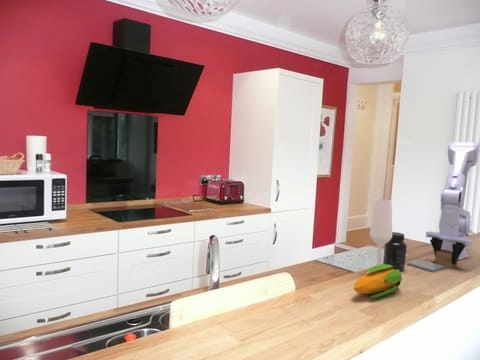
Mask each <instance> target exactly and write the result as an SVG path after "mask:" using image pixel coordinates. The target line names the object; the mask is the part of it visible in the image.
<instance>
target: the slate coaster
mask: <svg viewBox="0 0 480 360" xmlns="http://www.w3.org/2000/svg"><path fill="white" fill-rule="evenodd" d="M406 265H407V266H410V267H413V268H416V269H419V270H424V271H427V272H431V273H436V272H439V271H441V270H444V269H445V268H446V267H445V266H443V265H439V264H435V262H431V261H429V260H428V261H427V260H424V259H419V258H418V259H415V260H411V261H409V262H407V264H406Z"/></svg>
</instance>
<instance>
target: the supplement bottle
mask: <svg viewBox="0 0 480 360" xmlns="http://www.w3.org/2000/svg"><path fill="white" fill-rule="evenodd" d="M404 241H405V233H401V232H398V231H392V238H391V240H390V241H389V242H387V243H386V244H385V245H383V246H384V248H383V261H382V262H383V263H382V265H383V264H387V265H391V266H393V267H395V268H396V269H399V271H400V272H403V271H405V268H406V256H407V243H406V242H404Z"/></svg>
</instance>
